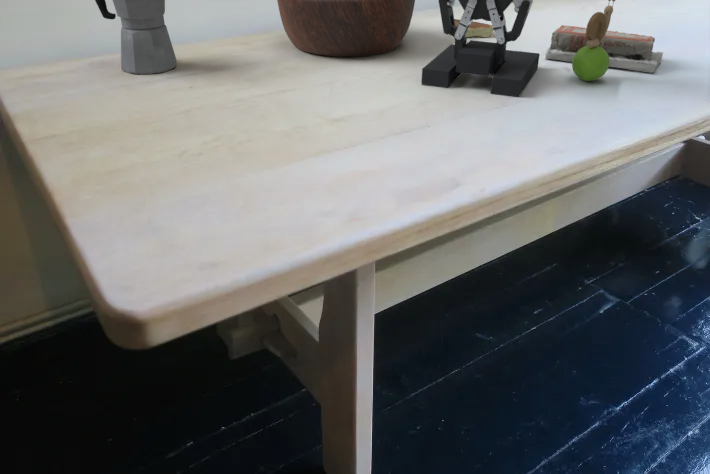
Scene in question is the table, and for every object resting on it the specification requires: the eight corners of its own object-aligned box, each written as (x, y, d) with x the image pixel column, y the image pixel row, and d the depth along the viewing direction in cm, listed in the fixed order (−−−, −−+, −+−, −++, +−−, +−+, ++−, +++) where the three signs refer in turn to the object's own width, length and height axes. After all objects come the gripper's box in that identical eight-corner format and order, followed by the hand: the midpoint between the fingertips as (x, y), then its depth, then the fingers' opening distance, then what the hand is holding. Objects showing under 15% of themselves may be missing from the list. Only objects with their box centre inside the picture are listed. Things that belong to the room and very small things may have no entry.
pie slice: (446, 25, 137) (447, 16, 136) (482, 24, 137) (483, 15, 136) (459, 38, 127) (460, 28, 126) (498, 37, 128) (499, 27, 127)
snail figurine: (614, 78, 105) (630, -1, 99) (595, 87, 101) (611, 6, 95) (582, 71, 108) (596, -6, 102) (563, 80, 104) (576, 0, 98)
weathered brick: (547, 31, 112) (561, 20, 119) (543, 60, 114) (557, 47, 122) (661, 44, 104) (669, 31, 112) (654, 74, 107) (662, 60, 114)
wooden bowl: (441, 48, 121) (445, -11, 115) (325, 70, 108) (323, 5, 103) (363, 22, 138) (363, -30, 133) (255, 39, 126) (251, -18, 121)
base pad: (537, 68, 110) (539, 53, 109) (518, 97, 97) (521, 80, 96) (450, 58, 115) (451, 44, 114) (421, 84, 102) (422, 68, 101)
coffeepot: (198, 61, 113) (185, -53, 104) (173, 77, 105) (156, -45, 96) (117, 55, 116) (96, -56, 107) (86, 71, 108) (61, -49, 99)
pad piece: (499, 62, 105) (502, 43, 103) (488, 76, 98) (490, 56, 97) (468, 59, 106) (470, 40, 105) (455, 72, 100) (457, 52, 99)
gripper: (433, -55, 93) (426, 66, 102) (536, -49, 88) (520, 77, 97) (448, -60, 99) (440, 54, 108) (545, -56, 94) (529, 64, 103)
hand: (478, 64), depth 102 cm, fingers closed on pad piece, 5 cm apart
